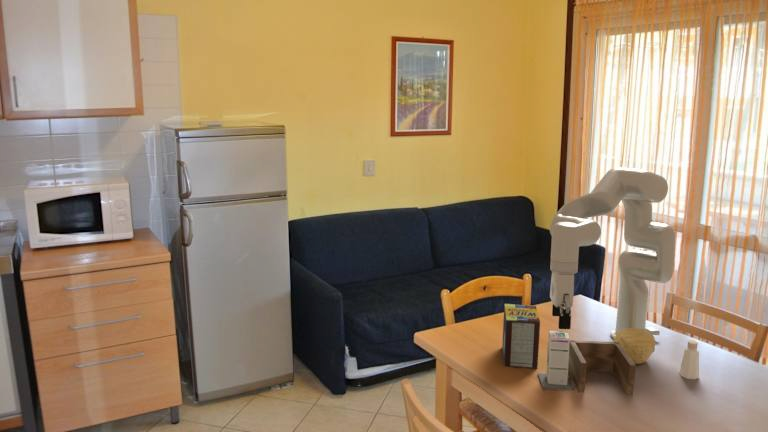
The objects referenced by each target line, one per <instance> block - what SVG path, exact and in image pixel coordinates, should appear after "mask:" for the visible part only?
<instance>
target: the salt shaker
mask: <svg viewBox="0 0 768 432" xmlns="http://www.w3.org/2000/svg"><path fill="white" fill-rule="evenodd" d="M698 345H699V343H698V341H696V340H692V339H691V340H687V347H685V348H684V351H683V352H684V353H683V356H682V359H681V365H680V369H679V372H678V373H679V375H680V376H681V377H682V378H684V379H686V380H697V379H700V366H699V365H700V351H699V350H698Z"/></svg>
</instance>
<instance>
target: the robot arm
mask: <svg viewBox="0 0 768 432" xmlns="http://www.w3.org/2000/svg"><path fill="white" fill-rule="evenodd" d="M668 192H669V184H668V182H667V179H665V177H663V176H662V175H659V174H656V173H654V172H651V171H649V170H646V169H639V168H631V167H630V168H629V167H628V168H627V167H612V168H610V169H609V170H608V171H607V172H606V173H605V174H604V176H603V177H602V178H601V179H600V180H599V182H598V183H597V184H596V186H594V188H593V189H592V190H591V192H590V193H586V194H583V195H581V196H579V197H577V198H575V199H574V198H573V199H571V200H570V201H567V203H565V204H563V205H562V206H561V208H559V210H557V212H556V213H555V214H554V216H553V218H552V219H551V222H550V225H549V234H550V236H551V242H550V243H551V246H550V247H551V248H550V268H549V269H550V271H551V278H550V289H549V299H550V300H551V302H552V312H551V315H552V316H553V317H558V329H559V330H571V327H572V310H571V308H572V307H573V305H574V294H575V291H574V290H575V274H577V273H578V270H579V268H578V267H579V254H580V252H579V251H580V247H587V246H592V245H594V244H595V243H597V242H598V241H599V239H600V237H601V234H602V230H601V226H600V224H599V223H598V222H597V221H595V220H593V219H588V218H594V217H595V218H596V217H601V216H604V215H605V216H606V215H608V214H610V213H613V211H614V210H616V208H617V207H618V205H619V204H620V202H622V204H623V207H624V224H623V226H624V227H623V231H624V232H623V236H624V237H623V238H624V239H623V240H624V241H625V242H624V243H625V244H626V245H628V246H630V247H632V249H631V248H630V249H626V250H624V251H622V252H621V253H620V255H619V257H618V263H617V265H618V272H619V273H618V274H619V286H618V287H619V289H618V299H617V309H616V321H615V328H614V329H611V331H610V336H611V338H612V339H614V338H615V336H616V334H617V333H618V332H619V331H621V330H623V329H626V328H635V329H643V330H644V331H646V332H648V333H650V334H652V335H653V336H660V334H661V333H660V332H661V331H660V330H659V329H654V328H653V327H648V326H646V324H647V323H646V322H647V312H648V304H649V295H650V293H649V287H648V284H647V283H646V281H648V282H653V283H659V284H667V283H669V282H670V281H671V280H672V278H673V276H674V272H675V271H674V269H675V256H676V253H675V252H676V232H675V230H674V228H673V227H672V226H671V225H669V224H667V223H663V222H657V221H653V205H652V203H656V204H657V203H661V202H662V201H664V200H665V199H666V197H667V195H668ZM635 248H637V249H635ZM640 249H642V250H640ZM645 250H647V251H645ZM650 251H652V252H650Z"/></svg>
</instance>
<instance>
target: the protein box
mask: <svg viewBox="0 0 768 432" xmlns="http://www.w3.org/2000/svg"><path fill="white" fill-rule="evenodd" d="M502 324H503V326H502V327H503V328H502V345H501V347H502V356H503V358H502V359H503V360H502V361H503V366H504V367H509V368H510V367H512V368H527V369H538V364H539V349H540V336H541V335H540V334H541V333H540V330H541V319H540V316H539V312H538V309H537V305H531V304H513V303H504V306H503V323H502Z"/></svg>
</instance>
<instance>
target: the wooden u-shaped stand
mask: <svg viewBox="0 0 768 432" xmlns="http://www.w3.org/2000/svg"><path fill="white" fill-rule="evenodd" d="M636 367H637V364H634V362H633V361H632V360H631V358H630V357H629V355H628V354H627V353H626V351H625V350H624V349H623V347H622V346H621V345H620V343H619V342H613V341H596V340H595V341H594V340H571V339H570V345H569V366H568V374H570V376H571V379H572V381H573V383H574V386H575V387H576V389H577V392H578V393H583V394H584V393H585V390H586V389H585V388H586V377H587V374H586V373H587V371H594V372H613V374H614V376H615V377H616V379H617V380H618V383H620V385H621V387H622V389H623V390H624V391H625V393H626V394H627V395H629V396H634V388H635V378H636V377H635V376H636Z"/></svg>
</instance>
